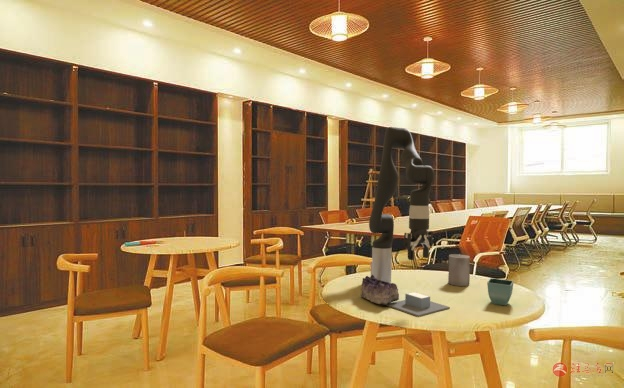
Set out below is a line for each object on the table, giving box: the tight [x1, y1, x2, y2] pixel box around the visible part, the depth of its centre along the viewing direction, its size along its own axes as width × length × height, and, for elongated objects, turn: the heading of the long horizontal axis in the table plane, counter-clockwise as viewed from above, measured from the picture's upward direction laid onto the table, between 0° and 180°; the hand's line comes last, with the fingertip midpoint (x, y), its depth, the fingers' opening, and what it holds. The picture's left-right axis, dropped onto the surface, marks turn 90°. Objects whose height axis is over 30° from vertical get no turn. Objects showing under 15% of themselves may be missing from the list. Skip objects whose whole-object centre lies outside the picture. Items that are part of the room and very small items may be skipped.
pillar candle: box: [447, 252, 471, 287], centre depth 194 cm, size 10×10×15 cm
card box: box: [404, 291, 431, 309], centre depth 156 cm, size 5×8×4 cm, turn 35°
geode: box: [360, 275, 400, 306], centre depth 164 cm, size 20×12×10 cm, turn 27°
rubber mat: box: [385, 299, 450, 317], centre depth 156 cm, size 16×18×1 cm
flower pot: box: [486, 277, 514, 306], centre depth 162 cm, size 9×9×9 cm
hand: (418, 258), depth 156 cm, fingers open, 8 cm apart
